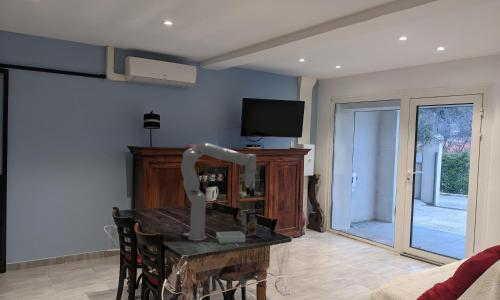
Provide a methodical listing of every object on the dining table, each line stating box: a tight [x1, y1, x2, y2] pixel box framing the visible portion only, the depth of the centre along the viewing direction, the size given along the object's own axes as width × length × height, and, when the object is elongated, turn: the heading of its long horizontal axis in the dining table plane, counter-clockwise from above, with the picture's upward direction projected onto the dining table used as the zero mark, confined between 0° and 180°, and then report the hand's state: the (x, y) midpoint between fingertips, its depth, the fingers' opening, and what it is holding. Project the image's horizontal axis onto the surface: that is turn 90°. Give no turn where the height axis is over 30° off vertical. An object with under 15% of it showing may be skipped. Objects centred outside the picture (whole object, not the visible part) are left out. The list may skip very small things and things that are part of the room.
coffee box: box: [241, 210, 258, 237], centre depth 268 cm, size 9×6×16 cm
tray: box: [215, 230, 247, 245], centre depth 253 cm, size 17×14×4 cm
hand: (250, 195), depth 268 cm, fingers open, 9 cm apart
